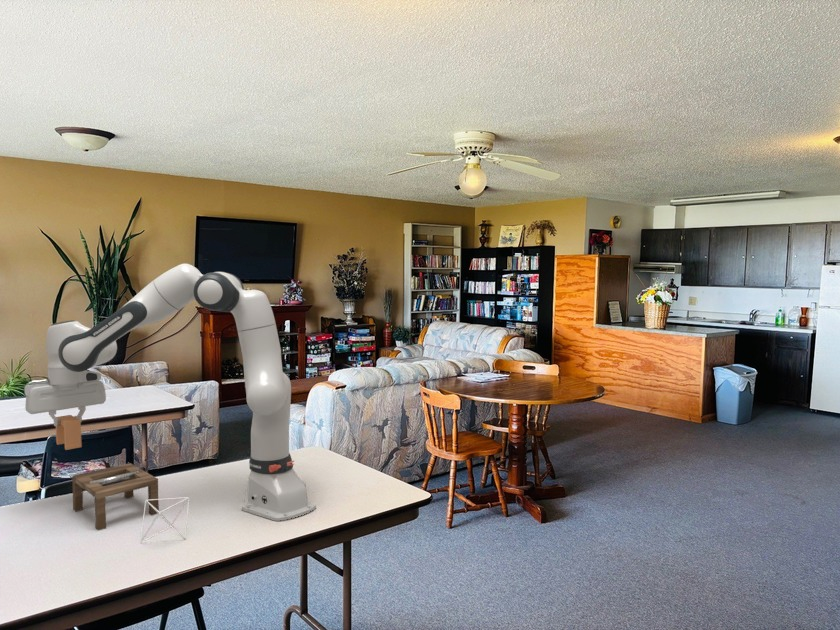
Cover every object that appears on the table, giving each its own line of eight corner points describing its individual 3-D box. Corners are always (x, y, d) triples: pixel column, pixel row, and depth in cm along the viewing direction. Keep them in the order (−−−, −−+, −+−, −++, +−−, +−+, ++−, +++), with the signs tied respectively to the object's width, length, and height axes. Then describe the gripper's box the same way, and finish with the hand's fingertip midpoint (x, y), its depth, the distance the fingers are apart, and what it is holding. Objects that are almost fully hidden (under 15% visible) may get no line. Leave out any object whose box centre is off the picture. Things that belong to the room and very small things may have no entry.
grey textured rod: (139, 476, 174) (139, 471, 174) (91, 488, 165) (91, 482, 165) (137, 475, 176) (137, 470, 175) (89, 486, 166) (89, 481, 166)
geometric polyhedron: (199, 531, 158) (199, 498, 158) (170, 549, 148) (169, 513, 147) (161, 525, 162) (161, 492, 162) (130, 541, 152) (129, 506, 151)
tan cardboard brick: (81, 446, 173) (80, 419, 172) (66, 449, 170) (64, 422, 169) (71, 441, 179) (70, 414, 178) (56, 443, 176) (55, 417, 175)
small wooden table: (158, 513, 170) (158, 478, 169) (98, 530, 158) (97, 493, 158) (131, 495, 183) (130, 463, 183) (73, 509, 172) (72, 475, 171)
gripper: (26, 382, 163) (29, 432, 164) (106, 373, 178) (108, 419, 179) (20, 380, 168) (23, 428, 168) (99, 371, 182) (101, 416, 183)
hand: (68, 423), depth 174 cm, fingers closed on tan cardboard brick, 4 cm apart
